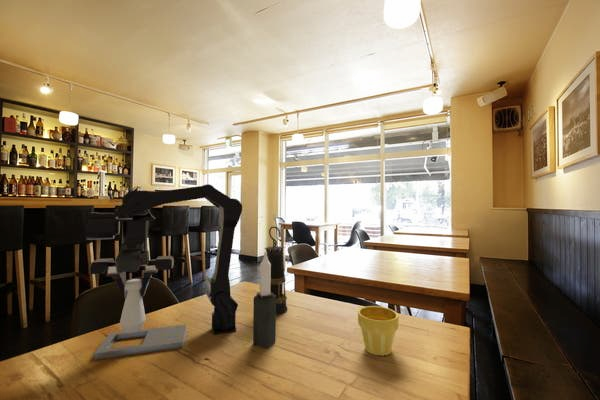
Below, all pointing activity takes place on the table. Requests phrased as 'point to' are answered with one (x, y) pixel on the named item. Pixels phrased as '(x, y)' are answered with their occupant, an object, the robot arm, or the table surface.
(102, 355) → the rail plate
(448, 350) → the table surface
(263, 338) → the candle
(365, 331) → the plant pot
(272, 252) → the lantern
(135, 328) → the salt shaker
